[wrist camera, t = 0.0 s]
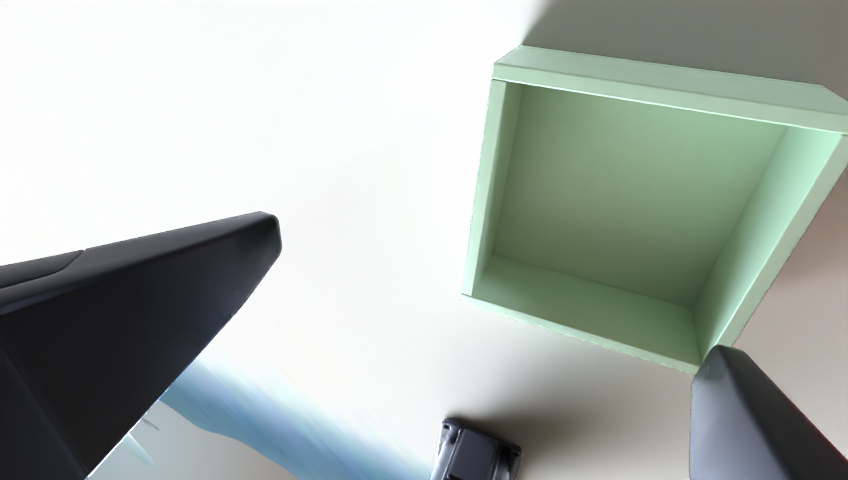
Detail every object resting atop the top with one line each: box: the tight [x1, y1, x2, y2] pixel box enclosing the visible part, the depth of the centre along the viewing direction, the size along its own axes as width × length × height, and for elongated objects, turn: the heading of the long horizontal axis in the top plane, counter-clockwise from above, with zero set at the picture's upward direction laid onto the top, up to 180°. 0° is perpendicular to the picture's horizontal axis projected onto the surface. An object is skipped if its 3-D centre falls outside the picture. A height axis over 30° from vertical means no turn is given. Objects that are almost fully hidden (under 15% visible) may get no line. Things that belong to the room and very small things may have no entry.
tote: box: [460, 45, 848, 375], centre depth 19 cm, size 12×12×5 cm
